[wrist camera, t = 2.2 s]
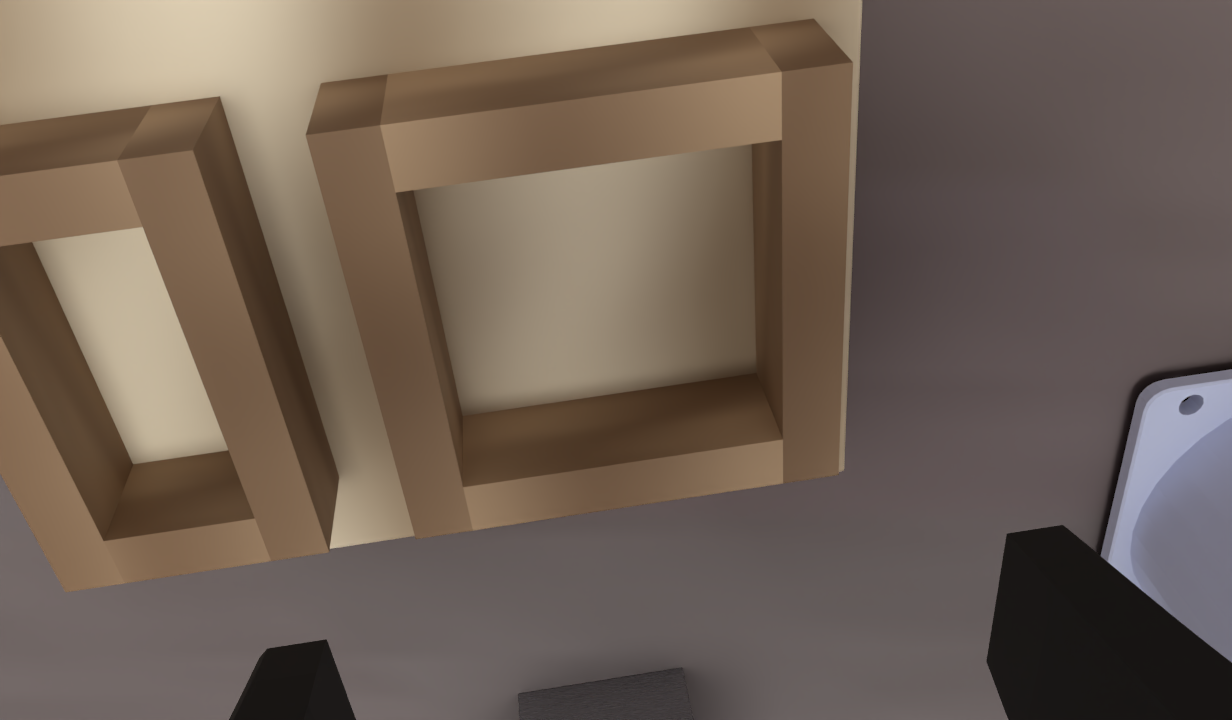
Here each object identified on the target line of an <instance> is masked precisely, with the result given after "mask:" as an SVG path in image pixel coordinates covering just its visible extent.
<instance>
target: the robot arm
mask: <svg viewBox="0 0 1232 720" xmlns="http://www.w3.org/2000/svg"><path fill="white" fill-rule="evenodd" d="M1189 396H1190V398H1188V399H1187V400H1186V401H1185V402H1182V401H1183V400H1184V399H1185V398H1187V397H1189ZM1181 402H1182V403H1181ZM987 664H988V666H989V669H990V672H991V674H992V677H993V680H994V682H995V685H996V688H997V691H998V693H999V696H1000V699H1001V701H1002V704H1003V707H1004V709H1005V712H1006V714H1007V717H1008V719H1009V720H1232V369H1230V370H1224V371H1217V372H1210V373H1204V374H1197V375H1190V376H1183V377H1177V378H1170V379H1164V380H1160V381H1157V382H1154V383H1152V384H1151V385H1149V386H1147V387H1146V388H1145V389H1144V390H1143V391H1142V392H1141V393H1140V395H1139V397H1138V399H1137V401H1136V405H1135V409H1134V413H1133V418H1132V422H1131V426H1130V431H1129V435H1128V439H1127V444H1126V448H1125V452H1124V457H1123V461H1122V465H1121V470H1120V474H1119V478H1118V483H1117V487H1116V491H1115V496H1114V500H1113V504H1112V508H1111V513H1110V517H1109V521H1108V526H1107V530H1106V534H1105V539H1104V543H1103V547H1102V552H1101V556H1100V555H1099V554H1097V553H1096V552H1095V551H1094V550H1093V549H1091V548H1090V547H1089V546H1088V545H1087V544H1085V543H1084V542H1083V541H1082V540H1080V539H1079V538H1078V537H1077V536H1076V535H1074V534H1073V533H1072V532H1071V531H1069V530H1068V529H1067V528H1066V527H1065V526H1063V525H1060V526H1054V527H1047V528H1041V529H1034V530H1028V531H1022V532H1015V533H1009V534H1007V536H1006V543H1005V549H1004V555H1003V561H1002V568H1001V574H1000V580H999V587H998V593H997V599H996V605H995V612H994V618H993V624H992V631H991V637H990V643H989V649H988V656H987ZM229 720H356V719H355V716H354V713H353V711H352V708H351V705H350V702H349V700H348V697H347V694H346V691H345V689H344V686H343V683H342V680H341V678H340V675H339V672H338V669H337V667H336V664H335V661H334V658H333V656H332V653H331V650H330V647H329V645H328V642H327V640H320V641H314V642H307V643H301V644H294V645H288V646H282V647H275V648H269V649H267V650H266V651H265V652H264V653H263V654H262V656H261V657H260V658H259V660H258V662H257V664H256V666H255V668H254V670H253V672H252V674H251V676H250V679H249V681H248V683H247V685H246V687H245V689H244V691H243V693H242V695H241V697H240V699H239V701H238V703H237V705H236V707H235V709H234V711H233V713H232V715H231V717H230V719H229Z"/></svg>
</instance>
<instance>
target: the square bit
mask: <svg viewBox="0 0 1232 720" xmlns="http://www.w3.org/2000/svg"><path fill="white" fill-rule="evenodd" d="M518 699H519V716H520V720H693V716H692V711H691V707H690V702H689V697H688V693H687V688H686V684H685V679H684V674H683V670H682V668H678V669H672V670H665V671H659V672H653V673H647V674H640V675H634V676H628V677H621V678H615V679H609V680H603V681H596V682H590V683H584V684H577V685H571V686H565V687H559V688H552V689H546V690H540V691H534V692H527V693H521V694H518Z"/></svg>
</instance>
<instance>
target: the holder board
mask: <svg viewBox="0 0 1232 720" xmlns="http://www.w3.org/2000/svg"><path fill="white" fill-rule="evenodd" d="M861 20H862V0H0V474H1V476H2V478H3V479H4V481H5V483H6V485H7V487H8V488H9V490H10V492H11V494H12V496H13V498H14V499H15V501H16V503H17V505H18V507H19V508H20V510H21V512H22V514H23V516H24V518H25V519H26V521H27V523H28V525H29V527H30V528H31V530H32V532H33V534H34V536H35V538H36V539H37V541H38V543H39V545H40V547H41V548H42V550H43V552H44V554H45V556H46V558H47V559H48V561H49V563H50V565H51V567H52V568H53V570H54V572H55V574H56V576H57V577H58V579H59V581H60V583H61V585H62V587H63V588H64V590H65V592H70V591H77V590H84V589H90V588H97V587H103V586H110V585H117V584H123V583H130V582H136V581H143V580H150V579H156V578H163V577H169V576H176V575H183V574H189V573H196V572H202V571H209V570H216V569H222V568H229V567H235V566H242V565H249V564H255V563H262V562H268V561H275V560H281V559H288V558H295V557H301V556H308V555H314V554H321V553H328V552H329V550H330V549H332V548H338V547H345V546H351V545H358V544H365V543H371V542H378V541H384V540H391V539H398V538H404V537H411V536H415V538H416V539H420V538H427V537H433V536H440V535H446V534H453V533H460V532H466V531H473V530H479V529H486V528H493V527H499V526H506V525H512V524H519V523H525V522H532V521H539V520H545V519H552V518H558V517H565V516H572V515H578V514H585V513H591V512H598V511H605V510H611V509H618V508H624V507H631V506H638V505H644V504H651V503H657V502H664V501H671V500H677V499H684V498H690V497H697V496H704V495H710V494H717V493H723V492H730V491H736V490H743V489H750V488H756V487H763V486H769V485H776V484H783V483H789V482H796V481H802V480H809V479H816V478H822V477H829V476H835V475H839V472H840V471H844V457H845V432H846V406H847V380H848V354H849V329H850V303H851V277H852V251H853V226H854V200H855V174H856V148H857V123H858V97H859V71H860V46H861Z"/></svg>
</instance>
